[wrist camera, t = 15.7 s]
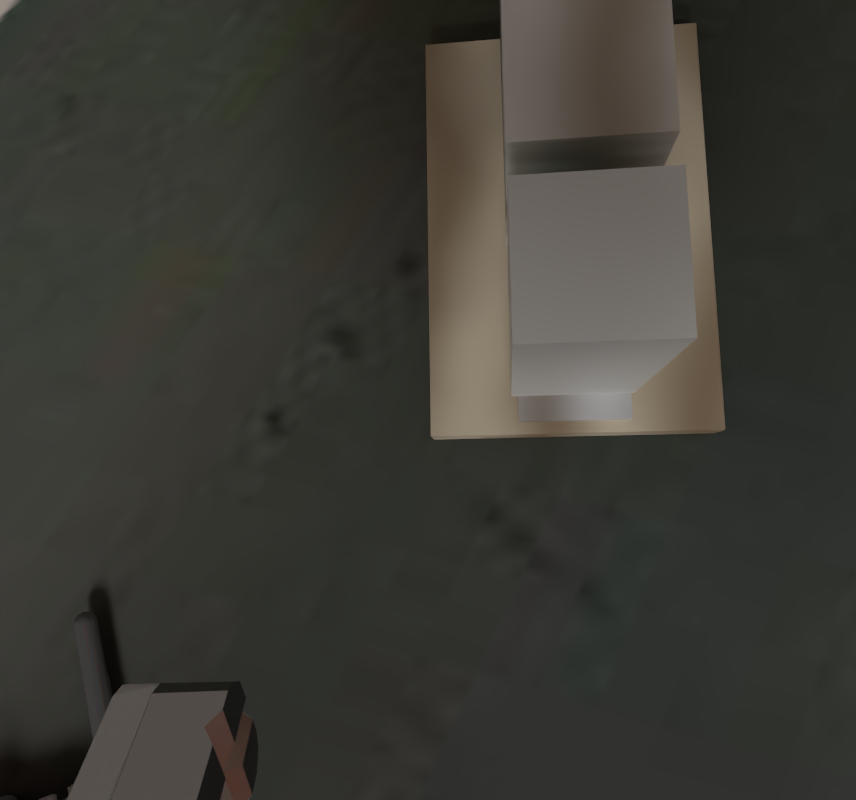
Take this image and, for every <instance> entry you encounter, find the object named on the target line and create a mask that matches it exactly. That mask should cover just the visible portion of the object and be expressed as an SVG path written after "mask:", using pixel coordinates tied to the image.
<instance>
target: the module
mask: <svg viewBox="0 0 856 800" xmlns="http://www.w3.org/2000/svg"><path fill="white" fill-rule="evenodd" d="M507 225H508V305H509V338H510V371H511V396H542V395H576V394H610V393H635V392H636V391H637V390H638V389H639V388H641V387H642V386H643V385H644V384H645V383H646V382H647V381H649V380H650V379H651V378H652V377H653V376H654V375H655V374H657V373H658V372H659V371H660V370H661V369H662V368H663V367H665V366H666V365H667V364H668V363H669V362H670V361H671V360H673V359H674V358H675V357H676V356H677V355H678V354H679V353H681V352H682V351H683V350H684V349H685V348H686V347H688V346H689V345H690V344H691V343H692V342H693V341H694V340H696V339H697V324H696V309H695V294H694V280H693V265H692V251H691V236H690V221H689V207H688V192H687V177H686V164H685V165H669V166H653V167H636V168H620V169H604V170H588V171H572V172H556V173H540V174H524V175H507Z"/></svg>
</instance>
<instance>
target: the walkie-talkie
mask: <svg viewBox="0 0 856 800" xmlns="http://www.w3.org/2000/svg"><path fill="white" fill-rule="evenodd" d="M73 626H74V631H75V637H76V643H77V649H78V655H79V661H80V667H81V672H82V678H83V684H84V690H85V696H86V702H87V708H88V714H89V719H90V725H91V731H92V737H93V739H94V737H95V734H96V732H97V730H98V728H99V725H100V723H101V721H102V719H103V716H104V714H105V712H106V710H107V707H108V705H109V703H110V701H111V698H112V697H113V695H112V689H111V683H110V677H109V675H108V673H107V670H106V664H105V659H104V653H103V648H102V642H101V637H100V632H99V626H98V621H97V617H96V615H95V614H94V613H93V612H83V613H81V614H80V615H78V616H77V618H76V619H75V620H74V625H73ZM72 786H73V785H71V787H68V788H67V789H68V796H69V793H70V791H71V789H72ZM67 798H68V797H67ZM67 798H66V799H62V800H67ZM0 800H17V797H16V796H13V795H5V796H1V797H0ZM39 800H57V795H56V794H53V795H49V796H46V797H43V798H41V799H39Z"/></svg>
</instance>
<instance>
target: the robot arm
mask: <svg viewBox="0 0 856 800" xmlns="http://www.w3.org/2000/svg"><path fill="white" fill-rule="evenodd" d="M245 699H246V697H245V694H244V691H243V689H242V686H241V683H240V681H233V682H187V683H149V684H125V685H122V686H121V687H120V688H119V690H118V691H117V692H116V693H115V694H114V695H113V697H112V698H111V701H110V703H109V705H108V707H107V710H106V712H105V714H104V716H103V719H102V721H101V723H100V725H99V728H98V730H97V732H96V734H95V737H94V739H93V741H92V744H91V746H90V748H89V750H88V753H87V755H86V757H85V759H84V762H83V764H82V766H81V768H80V771H79V773H78V775H77V777H76V780H75V782H74V784H73V786H72V789H71V791H70V793H69V796H68V798H67V800H248V799H249V798H250V797H251V796H252V794H253V789H254V784H255V779H256V774H257V761H258V741H257V732H256V728H255V725H254V722H253V719H252V718H250V717H249V716H247V715H246V714H244V713H243V712H242V711H243V707H244V703H245Z"/></svg>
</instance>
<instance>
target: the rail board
mask: <svg viewBox="0 0 856 800" xmlns="http://www.w3.org/2000/svg"><path fill="white" fill-rule="evenodd" d="M499 12H500V39H492V40H480V41H468V42H455V43H443V44H431V45H425V48H426V119H427V191H428V263H429V334H430V406H431V437H432V438H433V439H477V438H520V437H564V436H607V435H651V434H694V433H716V432H719V431H722V430H725V418H724V405H723V391H722V377H721V363H720V349H719V335H718V321H717V307H716V293H715V280H714V266H713V252H712V238H711V224H710V210H709V196H708V182H707V169H706V155H705V141H704V127H703V113H702V99H701V85H700V71H699V57H698V44H697V30H696V23H688V24H676V25H673V12H672V0H499ZM685 164H686V177H687V192H688V207H689V221H690V236H691V251H692V265H693V280H694V294H695V309H696V324H697V339H696V340H694V341H693V342H692V343H691V344H690V345H689V346H688V347H686V348H685V349H684V350H683V351H682V352H681V353H679V354H678V355H677V356H676V357H675V358H674V359H673V360H671V361H670V362H669V363H668V364H667V365H666V366H665V367H663V368H662V369H661V370H660V371H659V372H658V373H657V374H655V375H654V376H653V377H652V378H651V379H650V380H649V381H647V382H646V383H645V384H644V385H643V386H642V387H641V388H639V389H638V390H637V391H636V392H635V393H610V394H576V395H542V396H511V371H510V338H509V305H508V225H507V175H524V174H540V173H556V172H572V171H588V170H604V169H620V168H636V167H653V166H669V165H685Z"/></svg>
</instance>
